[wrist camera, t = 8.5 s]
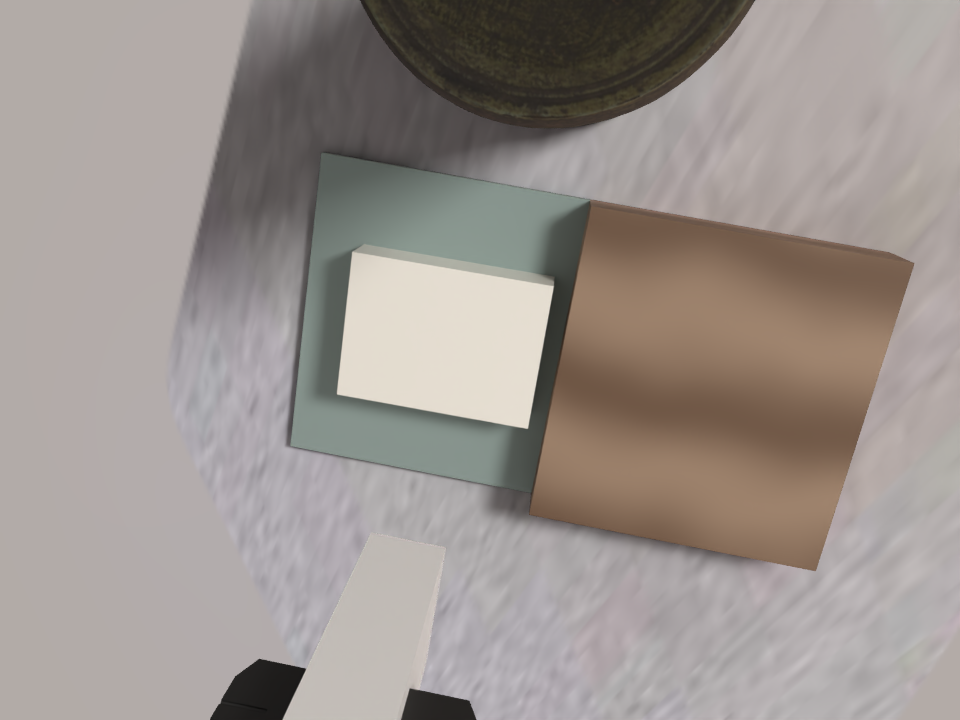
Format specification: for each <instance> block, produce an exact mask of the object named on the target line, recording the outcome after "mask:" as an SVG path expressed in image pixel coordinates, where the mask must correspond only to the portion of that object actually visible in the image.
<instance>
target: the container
mask: <svg viewBox="0 0 960 720" xmlns="http://www.w3.org/2000/svg"><path fill="white" fill-rule="evenodd" d="M360 1H361V3H362V5H363V7H364V9H365V11H366V13H367V14H368V16H369V18H370V20H371V21H372V23H373V25H374V26H375V28H376V30H377V31H378V33H379V34H380V36H381V37H382V39H383V40H384V41H385V43H386V44H387V45H388V46H389V48H390V49H391V50H392V52H393V53H394V54H395V55H396V56H397V57H398V59H399V60H400V61H401V62H402V63H403V64H404V65H405V66H406V67H407V68H408V69H409V70H410V71H411V72H412V73H413V74H414V75H415V76H416V77H417V78H418V79H419V80H421V81H422V82H423V83H424V84H425V85H427V86H428V87H429V88H431V89H432V90H433V91H435V92H436V93H438V94H439V95H441V96H442V97H444V98H445V99H447V100H449V101H450V102H452V103H454V104H455V105H457V106H459V107H461V108H463V109H465V110H467V111H469V112H472V113H474V114H476V115H479V116H481V117H484V118H487V119H491V120H494V121H498V122H502V123H505V124H510V125H515V126H522V127H530V128H567V127H575V126H582V125H587V124H592V123H596V122H600V121H604V120H608V119H612V118H615V117H618V116H620V115H623V114H626V113H629V112H632V111H634V110H636V109H638V108H641V107H643V106H645V105H647V104H649V103H651V102H653V101H655V100H657V99H658V98H660V97H662V96H663V95H665V94H666V93H668V92H669V91H671V90H672V89H674V88H675V87H677V86H678V85H679V84H681V83H682V82H683V81H685V80H686V79H687V78H688V77H690V76H691V75H692V74H693V73H694V72H695V71H697V70H698V69H699V68H700V67H701V66H702V65H703V64H704V63H705V62H707V61H708V60H709V59H710V58H711V57H712V56H713V55H714V54H715V53H716V52H717V51H718V50H719V49H720V48H721V46H722V45H723V44H724V43H725V42H726V41H727V40H728V38H729V37H730V36H731V35H732V34H733V32H734V31H735V30H736V28H737V27H738V26H739V24H740V23H741V21H742V20H743V18H744V17H745V15H746V14H747V12H748V11H749V9H750V8H751V6H752V4H753V3H754V1H755V0H360Z"/></svg>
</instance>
